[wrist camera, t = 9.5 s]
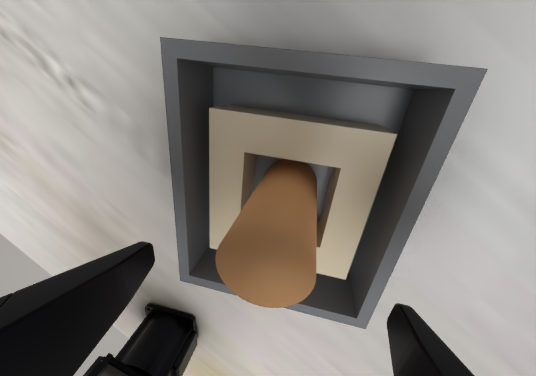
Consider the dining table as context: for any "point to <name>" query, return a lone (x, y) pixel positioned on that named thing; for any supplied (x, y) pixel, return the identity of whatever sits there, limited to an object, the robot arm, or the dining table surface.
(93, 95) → the dining table surface
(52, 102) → the dining table surface
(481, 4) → the dining table surface
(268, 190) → the peg
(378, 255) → the socket tray
